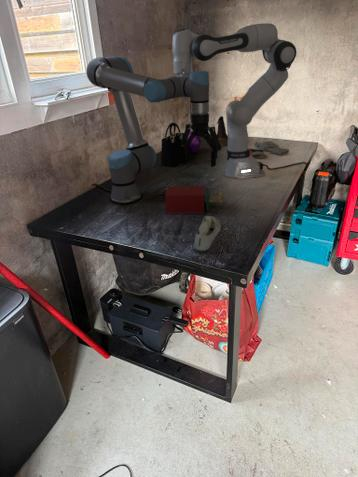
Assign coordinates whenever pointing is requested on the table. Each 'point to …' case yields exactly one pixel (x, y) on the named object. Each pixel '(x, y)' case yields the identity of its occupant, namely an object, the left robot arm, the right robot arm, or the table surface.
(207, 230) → the ballet flat
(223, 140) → the boot
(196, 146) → the decorative orb
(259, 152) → the pair of gloves
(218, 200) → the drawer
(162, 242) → the table surface
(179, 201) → the dark red block
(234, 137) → the right robot arm
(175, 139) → the handbag
